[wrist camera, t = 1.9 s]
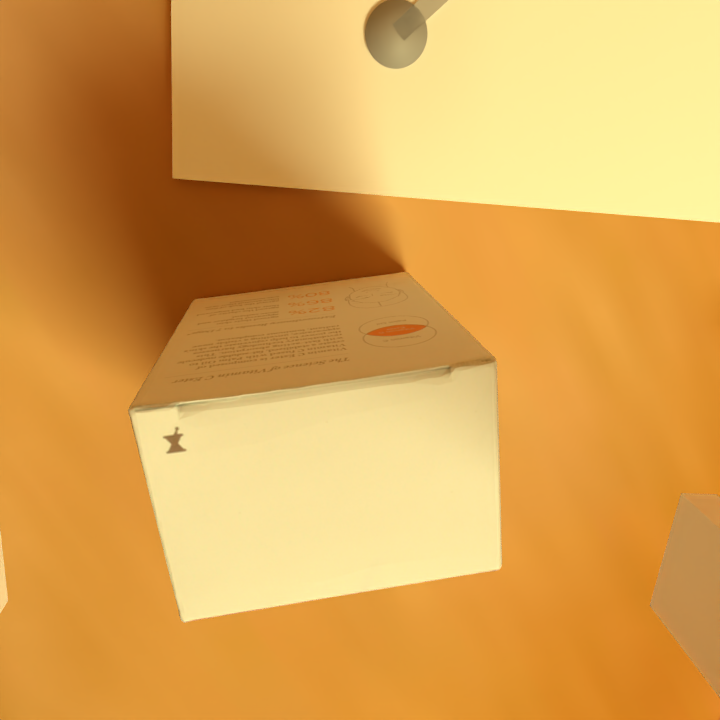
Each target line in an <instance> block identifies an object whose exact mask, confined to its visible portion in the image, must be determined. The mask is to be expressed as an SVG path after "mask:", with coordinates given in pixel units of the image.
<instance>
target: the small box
mask: <svg viewBox="0 0 720 720" xmlns="http://www.w3.org/2000/svg"><path fill="white" fill-rule="evenodd" d="M129 416H130V420H131V423H132V427H133V431H134V435H135V439H136V443H137V447H138V451H139V455H140V459H141V463H142V467H143V471H144V475H145V478H146V482H147V486H148V490H149V494H150V498H151V502H152V506H153V510H154V514H155V518H156V522H157V526H158V530H159V534H160V538H161V542H162V546H163V550H164V554H165V558H166V562H167V566H168V571H169V575H170V579H171V583H172V586H173V590H174V594H175V598H176V602H177V606H178V611H179V616H180V618H181V620H182V621H183V622H184V623H185V622H190V621H195V620H201V619H206V618H212V617H218V616H224V615H230V614H236V613H242V612H248V611H254V610H261V609H266V608H271V607H277V606H283V605H289V604H295V603H301V602H307V601H313V600H319V599H325V598H330V597H336V596H342V595H349V594H356V593H361V592H367V591H372V590H378V589H385V588H391V587H397V586H403V585H409V584H415V583H421V582H428V581H433V580H439V579H445V578H451V577H457V576H463V575H470V574H476V573H482V572H489V571H496V570H499V569H500V568H501V565H502V548H501V500H500V461H499V421H498V388H497V362H496V359H495V357H494V356H493V355H492V354H491V353H490V352H489V351H488V350H486V349H485V348H484V347H483V346H482V345H481V344H480V343H479V342H478V341H477V340H476V339H475V338H474V337H473V336H472V335H471V334H470V333H469V332H468V331H467V330H466V329H465V328H464V327H463V326H462V325H461V324H460V323H459V322H458V321H457V320H456V319H455V318H454V317H453V316H452V315H451V314H450V313H449V312H448V311H447V310H446V309H445V308H444V307H443V306H442V305H441V304H440V303H439V302H438V301H437V300H436V299H434V298H433V297H432V296H431V295H430V294H429V293H428V292H427V291H426V290H425V289H424V288H423V287H422V286H421V285H420V284H419V283H418V282H417V281H416V280H415V279H414V278H413V277H412V276H411V275H410V274H409V273H408V272H399V273H393V274H386V275H378V276H371V277H363V278H355V279H348V280H340V281H332V282H325V283H317V284H310V285H302V286H294V287H286V288H278V289H270V290H263V291H256V292H249V293H241V294H233V295H225V296H217V297H209V298H198V299H195V300H193V301H192V303H191V304H190V306H189V308H188V310H187V311H186V313H185V315H184V317H183V318H182V320H181V321H180V323H179V325H178V326H177V328H176V330H175V332H174V333H173V335H172V337H171V338H170V340H169V342H168V343H167V345H166V347H165V348H164V350H163V352H162V353H161V355H160V357H159V359H158V360H157V362H156V363H155V365H154V366H153V368H152V370H151V372H150V373H149V375H148V376H147V378H146V380H145V381H144V383H143V385H142V387H141V388H140V390H139V392H138V393H137V395H136V397H135V399H134V400H133V402H132V404H131V405H130V407H129Z"/></svg>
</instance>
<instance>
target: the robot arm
mask: <svg viewBox="0 0 720 720" xmlns="http://www.w3.org/2000/svg"><path fill="white" fill-rule="evenodd" d="M7 602H8V596H7V587H6V578H5V569H4V560H3V551H2V542H1V533H0V613H1V611H2V609H3V608H4V606H5V605H6V603H7ZM650 606H651V608H652V609H653V610H654V612H655V613H656V614H657V616H658V617H659V618H660V620H661V621H662V622H663V624H664V625H665V626H666V628H667V629H668V630H669V631H670V633H671V634H672V635H673V637H674V638H675V639H676V641H677V642H678V643H679V645H680V646H681V647H682V649H683V650H684V651H685V653H686V654H687V655H688V657H689V658H690V659H691V661H692V662H693V663H694V664H695V666H696V667H697V668H698V670H699V671H700V672H701V674H702V675H703V676H704V678H705V679H706V680H707V682H708V683H709V684H710V686H711V687H712V688H713V690H714V691H715V692H716V694H717V695H718V696H719V697H720V497H719V496H718V495H717V494H686V493H681V496H680V499H679V503H678V506H677V510H676V514H675V517H674V521H673V524H672V528H671V532H670V535H669V539H668V542H667V546H666V549H665V553H664V557H663V560H662V564H661V567H660V571H659V574H658V578H657V582H656V585H655V589H654V592H653V596H652V599H651V603H650Z"/></svg>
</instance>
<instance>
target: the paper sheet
mask: <svg viewBox="0 0 720 720" xmlns="http://www.w3.org/2000/svg"><path fill="white" fill-rule="evenodd" d="M171 52H172V178H174V179H186V180H198V181H211V182H223V183H236V184H248V185H261V186H273V187H285V188H298V189H310V190H323V191H335V192H348V193H360V194H373V195H385V196H397V197H410V198H422V199H435V200H447V201H460V202H472V203H484V204H497V205H509V206H522V207H534V208H547V209H559V210H571V211H584V212H596V213H609V214H621V215H634V216H646V217H659V218H671V219H683V220H696V221H708V222H720V0H171Z"/></svg>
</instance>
